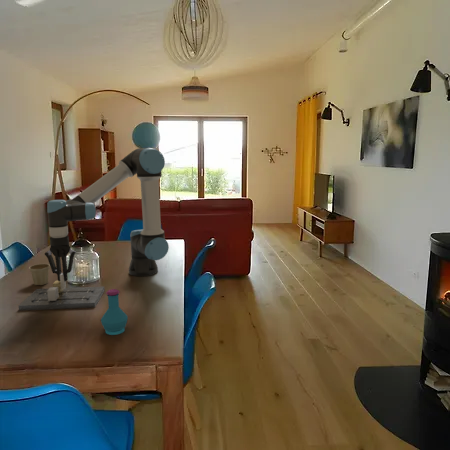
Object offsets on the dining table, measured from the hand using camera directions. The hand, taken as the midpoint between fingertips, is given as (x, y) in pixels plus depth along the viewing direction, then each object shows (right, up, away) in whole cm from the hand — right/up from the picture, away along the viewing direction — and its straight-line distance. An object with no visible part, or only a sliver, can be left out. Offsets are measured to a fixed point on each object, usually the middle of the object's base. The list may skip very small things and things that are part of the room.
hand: (63, 287), depth 175 cm
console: (+2, -5, -4) cm, 6 cm away
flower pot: (-18, -1, +18) cm, 26 cm away
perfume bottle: (+32, -10, -33) cm, 47 cm away
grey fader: (-1, -3, -9) cm, 9 cm away
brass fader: (-2, -2, 0) cm, 3 cm away
